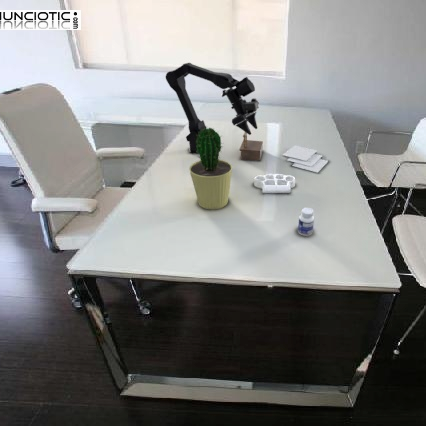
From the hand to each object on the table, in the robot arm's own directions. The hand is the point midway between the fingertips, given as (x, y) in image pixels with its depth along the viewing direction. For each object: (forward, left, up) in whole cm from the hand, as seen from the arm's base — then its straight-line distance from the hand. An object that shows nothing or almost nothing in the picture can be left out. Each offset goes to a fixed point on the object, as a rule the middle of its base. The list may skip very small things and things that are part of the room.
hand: (253, 131), depth 151 cm
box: (+1, +7, -15) cm, 16 cm away
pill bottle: (+8, -63, -15) cm, 65 cm away
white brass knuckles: (+5, -29, -15) cm, 33 cm away
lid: (0, +7, -10) cm, 12 cm away
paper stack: (+28, -1, -15) cm, 31 cm away
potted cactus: (-22, -38, -15) cm, 47 cm away
